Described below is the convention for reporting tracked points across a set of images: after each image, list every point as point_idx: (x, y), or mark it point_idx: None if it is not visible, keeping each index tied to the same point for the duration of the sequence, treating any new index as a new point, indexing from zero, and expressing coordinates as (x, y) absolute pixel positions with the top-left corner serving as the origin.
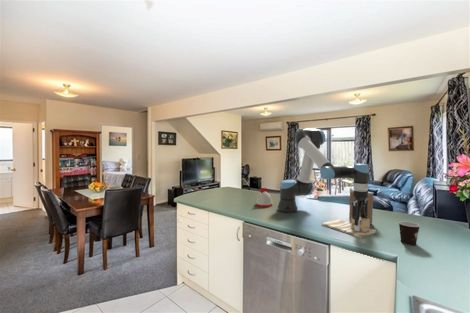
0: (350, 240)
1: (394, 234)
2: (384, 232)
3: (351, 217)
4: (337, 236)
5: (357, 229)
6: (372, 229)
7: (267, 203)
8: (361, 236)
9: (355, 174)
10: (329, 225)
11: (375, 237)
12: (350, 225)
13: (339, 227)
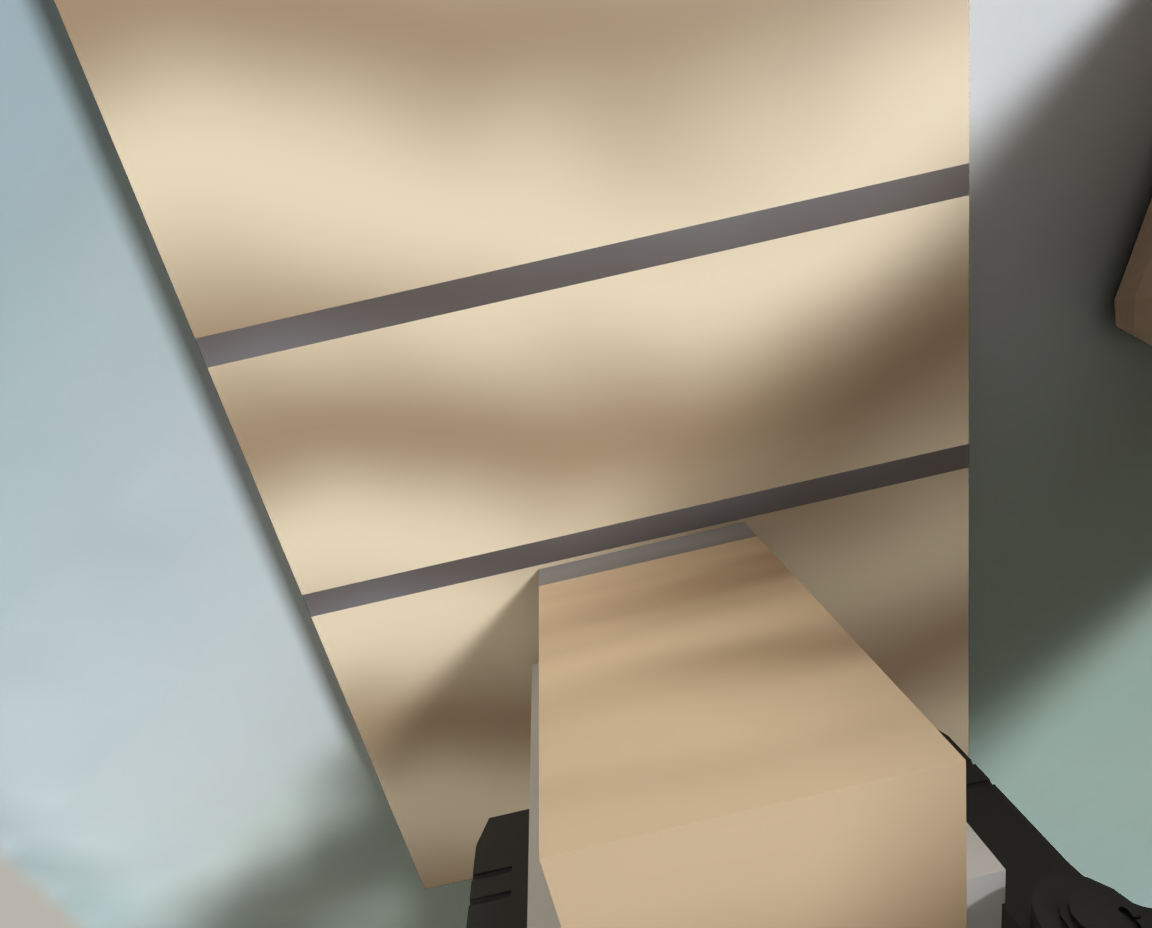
0: (159, 865)
1: (1091, 866)
2: (1056, 774)
3: (540, 857)
4: (11, 679)
5: None
6: (950, 719)
7: None
8: (426, 879)
9: None
10: (110, 108)
11: None
12: (755, 362)
13: (325, 379)
